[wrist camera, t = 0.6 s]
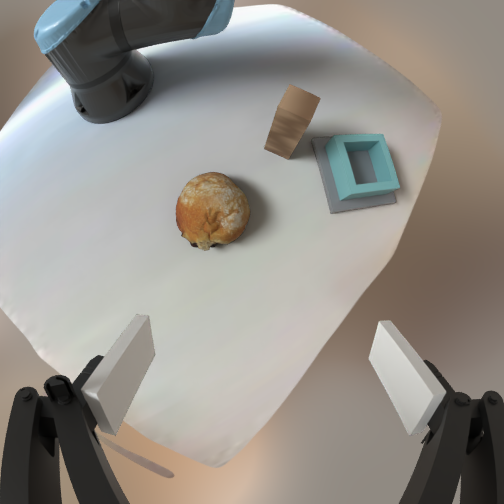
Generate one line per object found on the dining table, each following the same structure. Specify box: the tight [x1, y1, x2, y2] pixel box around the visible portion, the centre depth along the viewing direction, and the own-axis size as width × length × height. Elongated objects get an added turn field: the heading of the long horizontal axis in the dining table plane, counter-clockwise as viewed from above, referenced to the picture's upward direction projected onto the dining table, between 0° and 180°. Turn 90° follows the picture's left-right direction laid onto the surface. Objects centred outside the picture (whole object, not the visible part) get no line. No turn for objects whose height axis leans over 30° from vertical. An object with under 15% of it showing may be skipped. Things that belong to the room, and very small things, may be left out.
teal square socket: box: [311, 134, 400, 213], centre depth 38 cm, size 12×12×5 cm
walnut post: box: [264, 85, 320, 159], centre depth 34 cm, size 4×4×12 cm
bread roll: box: [176, 172, 250, 251], centre depth 36 cm, size 10×10×8 cm
